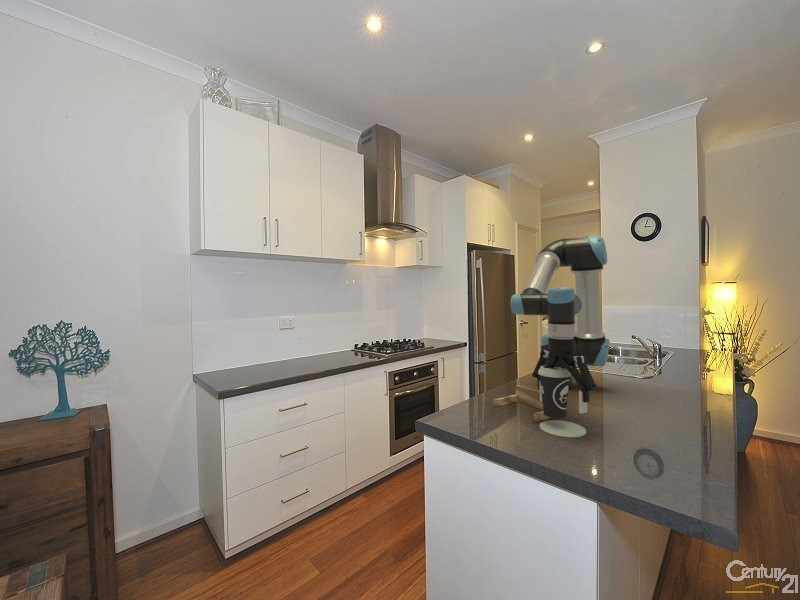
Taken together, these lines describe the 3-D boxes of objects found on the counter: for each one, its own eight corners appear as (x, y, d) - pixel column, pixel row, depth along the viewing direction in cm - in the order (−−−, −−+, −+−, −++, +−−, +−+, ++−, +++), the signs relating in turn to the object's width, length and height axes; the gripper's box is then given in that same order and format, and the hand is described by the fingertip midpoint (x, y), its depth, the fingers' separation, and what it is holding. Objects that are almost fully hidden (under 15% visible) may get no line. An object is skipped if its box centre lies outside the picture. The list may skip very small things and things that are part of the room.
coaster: (557, 418, 115) (557, 417, 115) (595, 431, 104) (595, 430, 104) (530, 426, 109) (530, 425, 109) (568, 440, 98) (568, 439, 98)
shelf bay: (518, 400, 136) (518, 385, 136) (563, 414, 119) (563, 397, 119) (493, 406, 129) (493, 390, 129) (536, 422, 112) (536, 403, 112)
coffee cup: (564, 409, 114) (563, 364, 113) (577, 420, 104) (576, 370, 104) (534, 409, 114) (533, 364, 114) (544, 420, 105) (543, 370, 105)
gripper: (520, 334, 115) (521, 398, 116) (593, 343, 94) (594, 421, 94) (535, 332, 119) (536, 394, 119) (609, 340, 97) (610, 415, 98)
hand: (562, 406), depth 107 cm, fingers open, 13 cm apart
